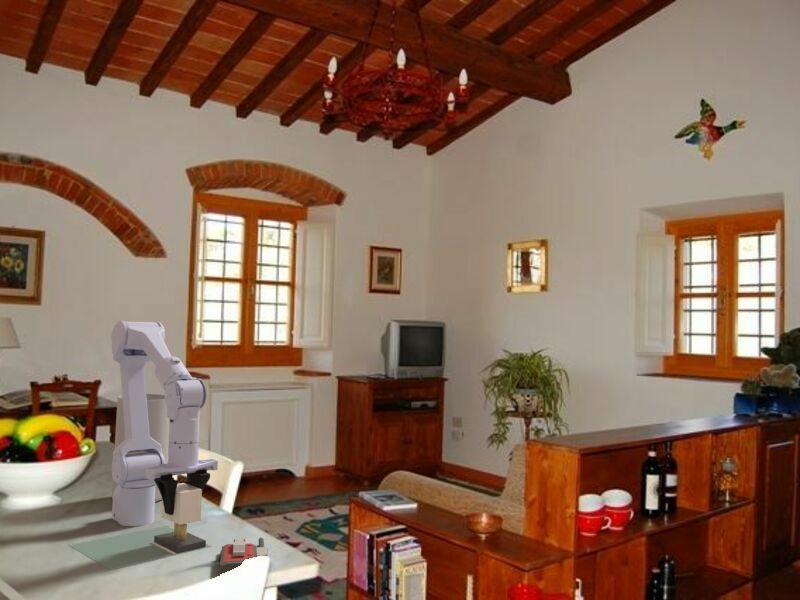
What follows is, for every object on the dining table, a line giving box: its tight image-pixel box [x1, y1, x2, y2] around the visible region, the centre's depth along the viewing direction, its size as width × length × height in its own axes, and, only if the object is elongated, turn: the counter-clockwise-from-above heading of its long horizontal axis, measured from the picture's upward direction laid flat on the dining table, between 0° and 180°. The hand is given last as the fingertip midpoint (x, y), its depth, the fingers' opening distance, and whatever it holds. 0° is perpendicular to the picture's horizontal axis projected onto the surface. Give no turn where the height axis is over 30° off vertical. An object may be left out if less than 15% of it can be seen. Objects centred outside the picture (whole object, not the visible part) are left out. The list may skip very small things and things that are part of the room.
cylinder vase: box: [111, 393, 170, 503], centre depth 177 cm, size 12×12×25 cm
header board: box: [68, 522, 212, 571], centre depth 139 cm, size 18×20×5 cm
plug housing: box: [160, 482, 203, 525], centre depth 140 cm, size 7×4×6 cm, turn 46°
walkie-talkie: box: [219, 537, 269, 575], centre depth 135 cm, size 9×4×20 cm
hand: (181, 511), depth 140 cm, fingers closed on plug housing, 4 cm apart
